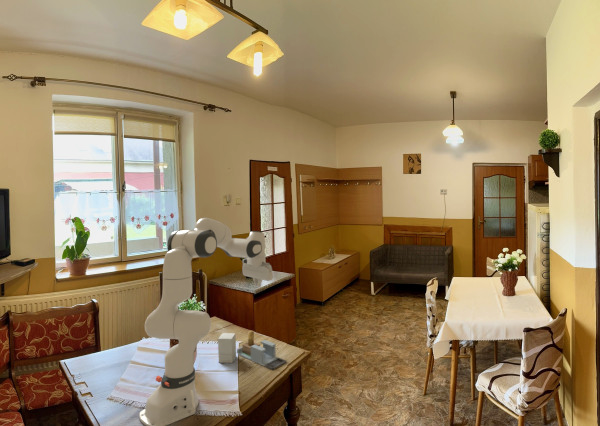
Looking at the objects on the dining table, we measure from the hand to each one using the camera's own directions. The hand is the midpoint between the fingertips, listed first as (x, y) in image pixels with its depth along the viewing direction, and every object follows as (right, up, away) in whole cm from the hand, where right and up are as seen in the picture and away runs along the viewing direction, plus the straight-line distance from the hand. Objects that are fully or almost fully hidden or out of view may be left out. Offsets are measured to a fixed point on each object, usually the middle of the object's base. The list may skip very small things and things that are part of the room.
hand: (257, 286), depth 193 cm
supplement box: (-15, -36, -9) cm, 40 cm away
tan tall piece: (-3, -34, -3) cm, 35 cm away
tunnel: (+3, -36, -8) cm, 37 cm away
